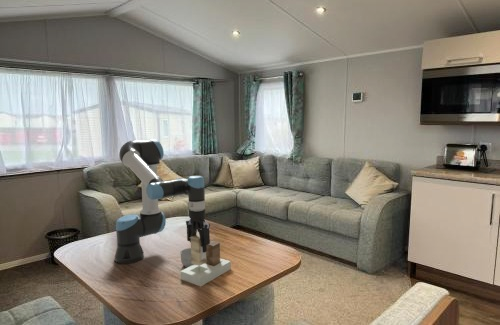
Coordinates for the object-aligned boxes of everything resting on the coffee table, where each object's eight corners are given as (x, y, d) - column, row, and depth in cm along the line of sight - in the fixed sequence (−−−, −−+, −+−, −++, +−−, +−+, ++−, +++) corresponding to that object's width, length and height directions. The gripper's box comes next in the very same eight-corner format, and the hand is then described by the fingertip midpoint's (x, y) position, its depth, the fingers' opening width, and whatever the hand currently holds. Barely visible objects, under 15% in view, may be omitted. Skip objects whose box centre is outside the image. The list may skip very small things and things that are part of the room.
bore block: (180, 279, 159) (180, 271, 159) (211, 263, 177) (211, 255, 177) (200, 286, 152) (200, 278, 151) (231, 268, 170) (230, 261, 169)
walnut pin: (206, 268, 168) (205, 243, 166) (212, 265, 172) (212, 240, 170) (213, 271, 165) (213, 245, 164) (220, 267, 169) (219, 242, 168)
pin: (198, 259, 163) (197, 233, 161) (206, 262, 160) (205, 235, 159) (191, 263, 159) (190, 236, 157) (199, 265, 156) (198, 238, 154)
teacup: (181, 271, 168) (181, 255, 167) (180, 262, 179) (179, 248, 178) (209, 267, 172) (208, 252, 171) (206, 259, 182) (205, 245, 181)
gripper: (177, 208, 159) (179, 255, 161) (206, 213, 148) (207, 264, 151) (189, 205, 165) (191, 250, 167) (217, 210, 154) (218, 258, 157)
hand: (199, 257), depth 159 cm, fingers closed on pin, 5 cm apart
